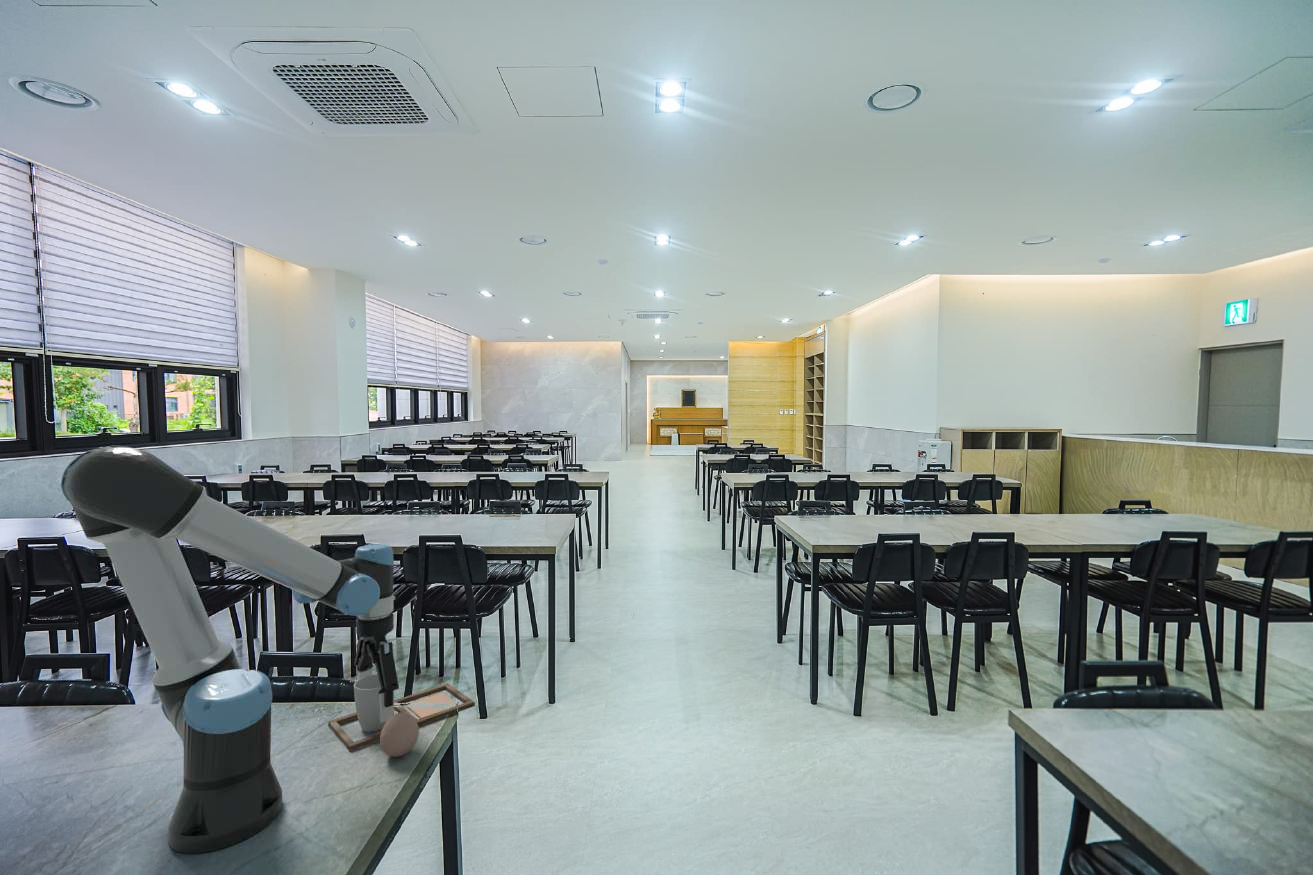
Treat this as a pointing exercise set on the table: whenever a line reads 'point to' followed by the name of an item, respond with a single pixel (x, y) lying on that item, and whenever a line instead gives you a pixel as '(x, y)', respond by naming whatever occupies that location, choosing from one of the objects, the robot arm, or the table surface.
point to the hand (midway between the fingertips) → (375, 709)
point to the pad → (426, 712)
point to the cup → (368, 703)
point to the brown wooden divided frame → (369, 740)
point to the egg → (399, 735)
